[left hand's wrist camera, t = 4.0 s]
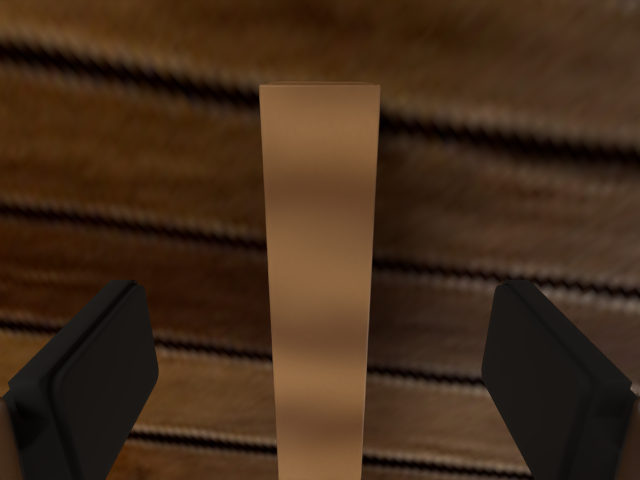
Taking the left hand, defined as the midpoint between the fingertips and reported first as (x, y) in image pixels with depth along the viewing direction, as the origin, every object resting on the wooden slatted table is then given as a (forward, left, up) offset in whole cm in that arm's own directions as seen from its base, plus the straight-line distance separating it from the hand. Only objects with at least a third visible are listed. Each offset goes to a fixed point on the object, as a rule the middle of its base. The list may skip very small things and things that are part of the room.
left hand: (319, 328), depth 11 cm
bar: (+18, +8, -14) cm, 24 cm away
